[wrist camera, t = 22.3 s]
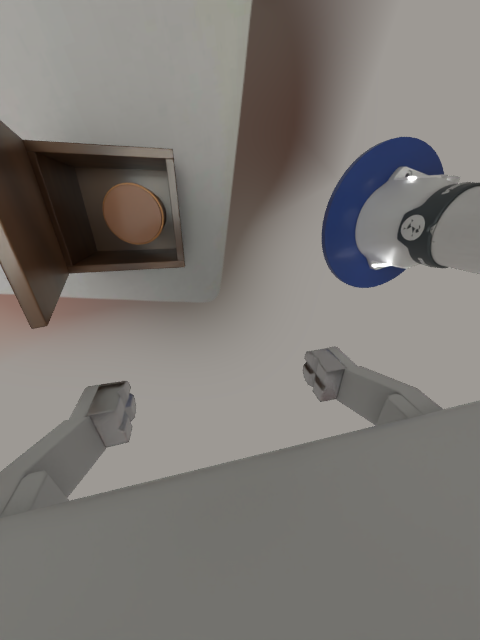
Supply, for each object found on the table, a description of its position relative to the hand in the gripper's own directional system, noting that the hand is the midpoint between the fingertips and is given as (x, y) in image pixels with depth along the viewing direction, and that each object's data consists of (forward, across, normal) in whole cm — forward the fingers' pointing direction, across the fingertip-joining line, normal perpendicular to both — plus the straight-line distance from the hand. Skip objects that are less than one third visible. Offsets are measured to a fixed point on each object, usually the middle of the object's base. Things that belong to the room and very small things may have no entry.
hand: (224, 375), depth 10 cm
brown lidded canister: (+29, +6, -6) cm, 30 cm away
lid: (+13, +12, -6) cm, 18 cm away
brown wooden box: (+30, +8, -6) cm, 31 cm away
